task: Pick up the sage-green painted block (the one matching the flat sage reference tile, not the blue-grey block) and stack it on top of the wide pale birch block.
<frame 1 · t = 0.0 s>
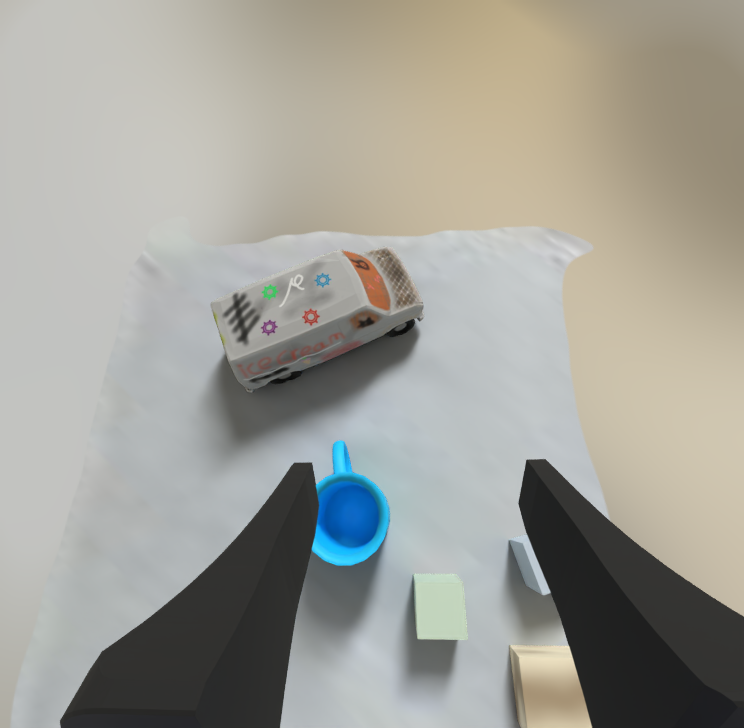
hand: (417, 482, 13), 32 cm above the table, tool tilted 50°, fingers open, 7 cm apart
mug: (351, 497, 44), on the table
bluegrey block: (536, 555, 40), on the table
birch base: (544, 681, 36), on the table
sage block: (435, 598, 39), on the table
toy car: (327, 330, 52), on the table
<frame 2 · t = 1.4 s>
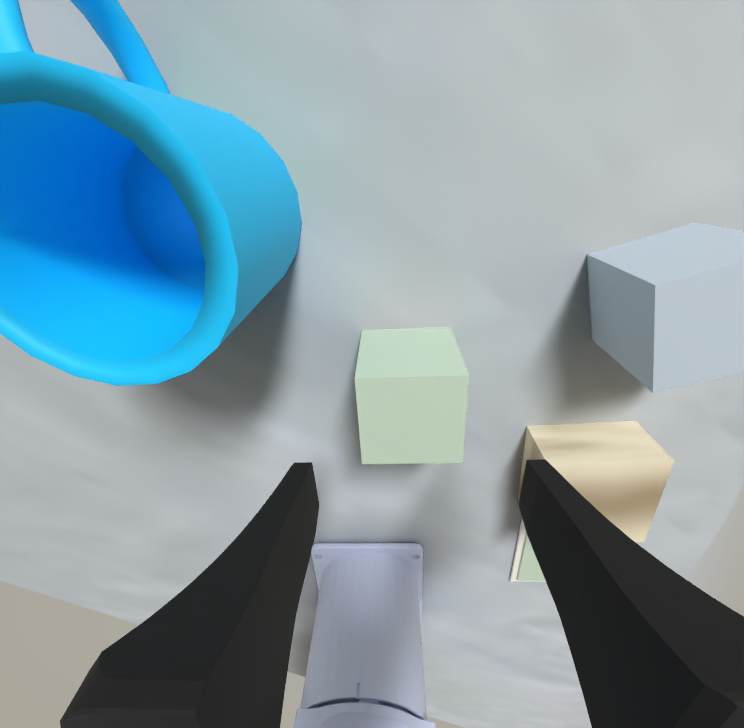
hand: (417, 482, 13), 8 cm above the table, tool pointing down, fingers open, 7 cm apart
mug: (195, 167, 16), on the table
bluegrey block: (639, 285, 18), on the table
birch base: (570, 460, 23), on the table
sage block: (406, 366, 20), on the table
reference tile: (564, 549, 26), on the table
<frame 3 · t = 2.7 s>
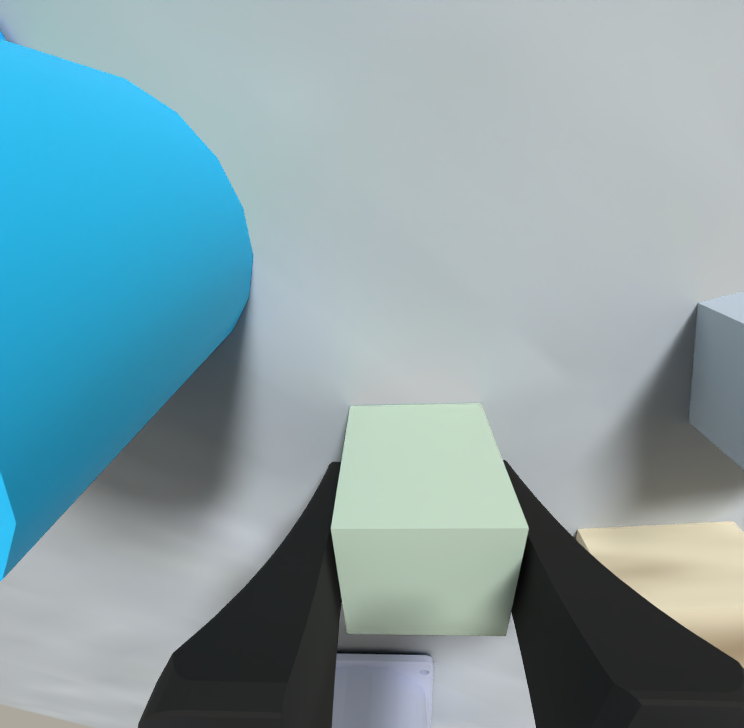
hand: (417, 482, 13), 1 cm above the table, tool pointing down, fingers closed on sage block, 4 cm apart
mug: (78, 167, 10), on the table
birch base: (636, 565, 17), on the table
sage block: (414, 454, 14), on the table, touching gripper
when the fingers open (6 cm above the table, at t = 5.4 s): sage block drops 1 cm, resting on birch base.
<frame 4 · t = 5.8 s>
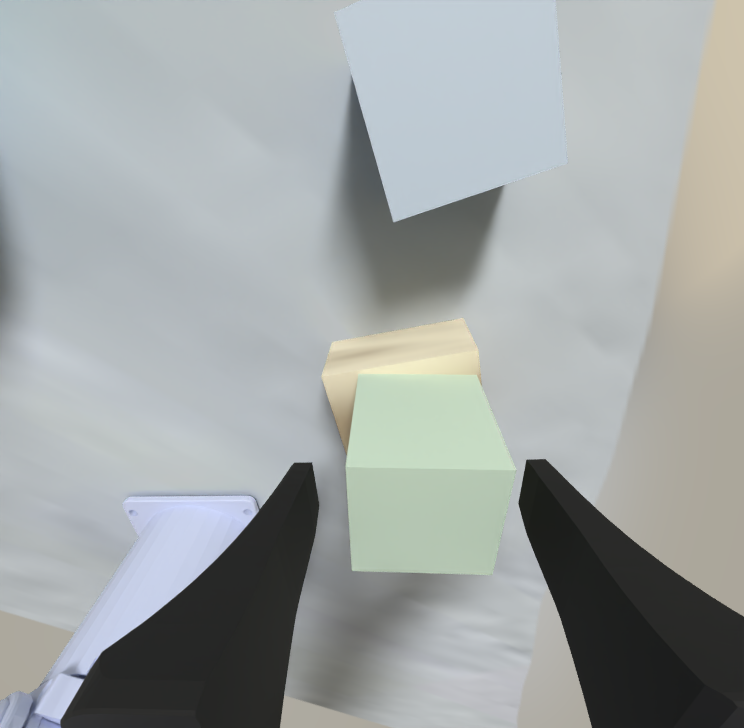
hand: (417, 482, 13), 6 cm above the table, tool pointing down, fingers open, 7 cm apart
bluegrey block: (435, 116, 13), on the table
birch base: (407, 382, 19), on the table, touching sage block
sage block: (414, 421, 15), point 3 cm above the table, touching birch base
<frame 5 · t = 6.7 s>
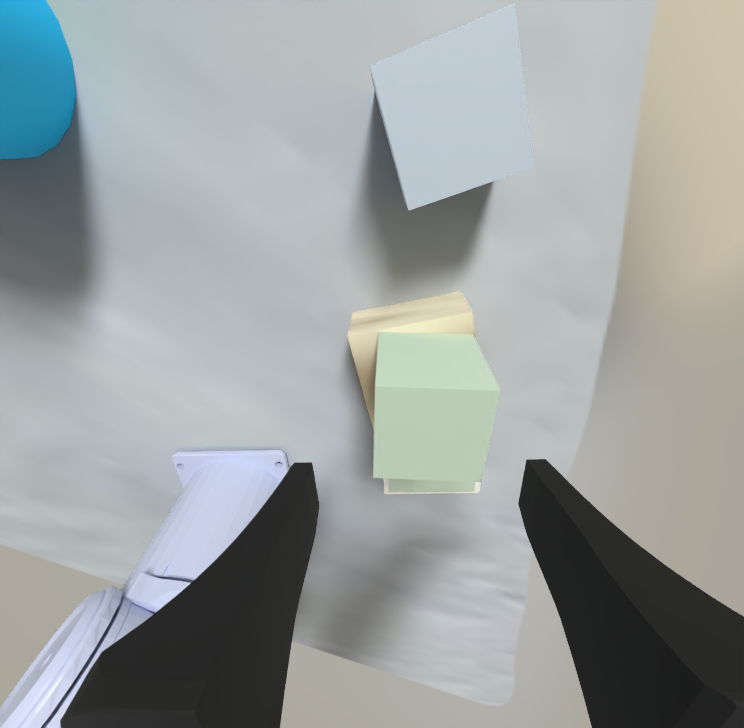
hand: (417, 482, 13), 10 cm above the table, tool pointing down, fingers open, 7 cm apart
bluegrey block: (438, 129, 17), on the table
birch base: (414, 348, 22), on the table
sage block: (422, 373, 19), point 3 cm above the table
reference tile: (431, 455, 26), on the table
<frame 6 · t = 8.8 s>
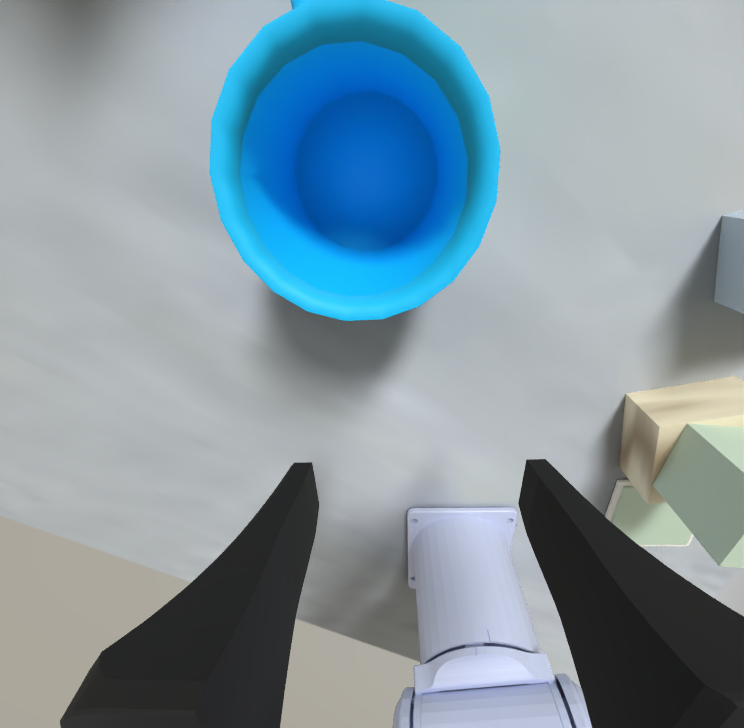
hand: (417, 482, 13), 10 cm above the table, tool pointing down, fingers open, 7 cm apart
mug: (358, 131, 17), on the table
birch base: (670, 422, 24), on the table, touching sage block
sage block: (709, 458, 21), point 3 cm above the table, touching birch base
reference tile: (653, 513, 27), on the table
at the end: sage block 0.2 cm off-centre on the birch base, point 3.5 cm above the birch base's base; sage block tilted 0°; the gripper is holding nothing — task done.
